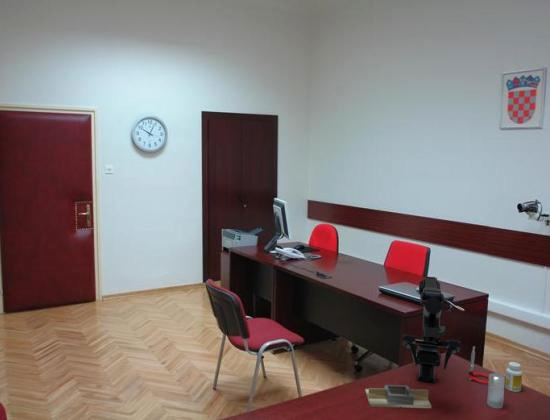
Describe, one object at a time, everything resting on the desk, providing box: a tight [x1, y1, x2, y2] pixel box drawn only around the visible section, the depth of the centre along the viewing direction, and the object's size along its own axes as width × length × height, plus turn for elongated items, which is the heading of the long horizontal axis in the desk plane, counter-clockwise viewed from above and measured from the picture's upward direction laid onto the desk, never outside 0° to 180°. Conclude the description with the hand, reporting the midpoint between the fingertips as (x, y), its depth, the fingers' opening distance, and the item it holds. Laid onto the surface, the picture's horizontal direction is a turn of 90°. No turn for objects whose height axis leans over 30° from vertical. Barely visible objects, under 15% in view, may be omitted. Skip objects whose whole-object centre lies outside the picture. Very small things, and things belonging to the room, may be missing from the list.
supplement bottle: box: [504, 361, 523, 393], centre depth 182 cm, size 5×5×10 cm
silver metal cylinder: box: [486, 372, 506, 409], centre depth 170 cm, size 5×5×10 cm
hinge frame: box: [364, 384, 432, 409], centre depth 173 cm, size 11×21×4 cm, turn 89°
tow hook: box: [468, 345, 489, 385], centre depth 189 cm, size 8×13×9 cm
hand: (430, 368), depth 164 cm, fingers open, 9 cm apart
